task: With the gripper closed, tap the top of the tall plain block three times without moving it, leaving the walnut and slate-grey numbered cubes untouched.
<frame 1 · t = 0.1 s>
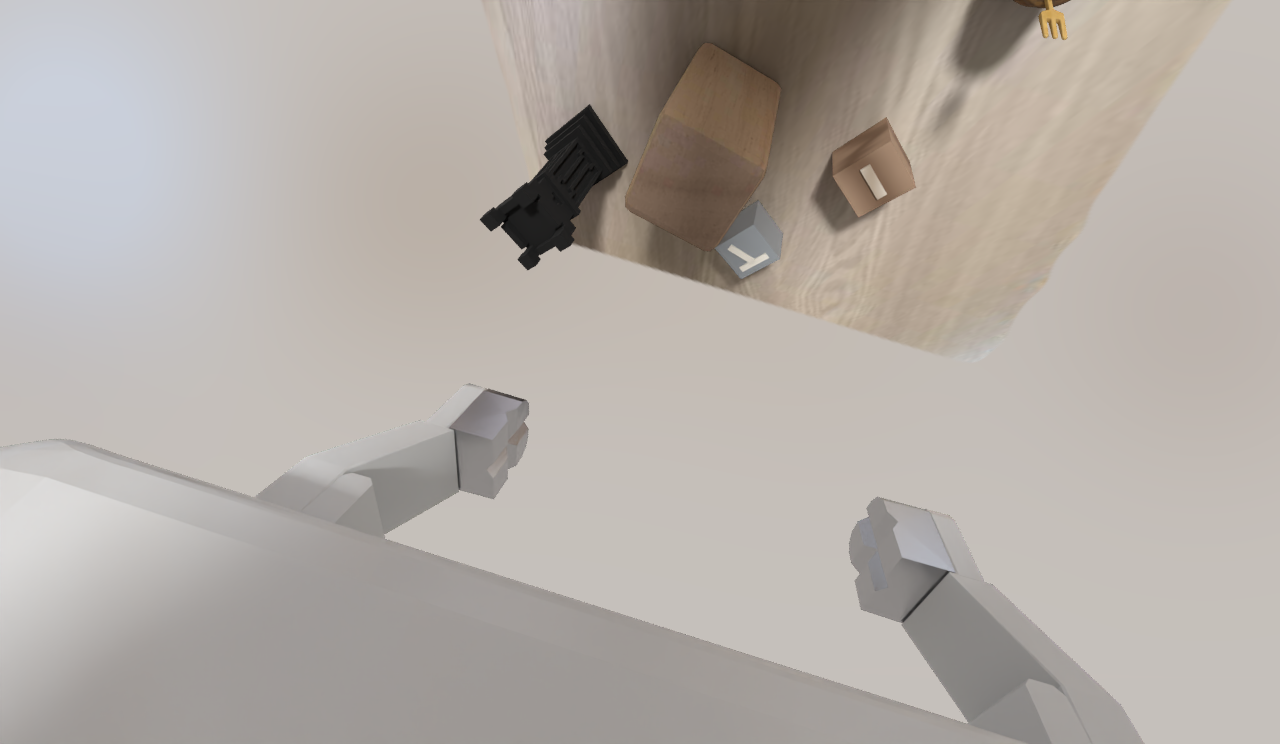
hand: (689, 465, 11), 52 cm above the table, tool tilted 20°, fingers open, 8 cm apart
walnut numbered cube: (870, 156, 52), on the table
slate numbered cube: (751, 228, 62), on the table
block: (722, 105, 52), on the table
chess piece: (587, 149, 60), on the table
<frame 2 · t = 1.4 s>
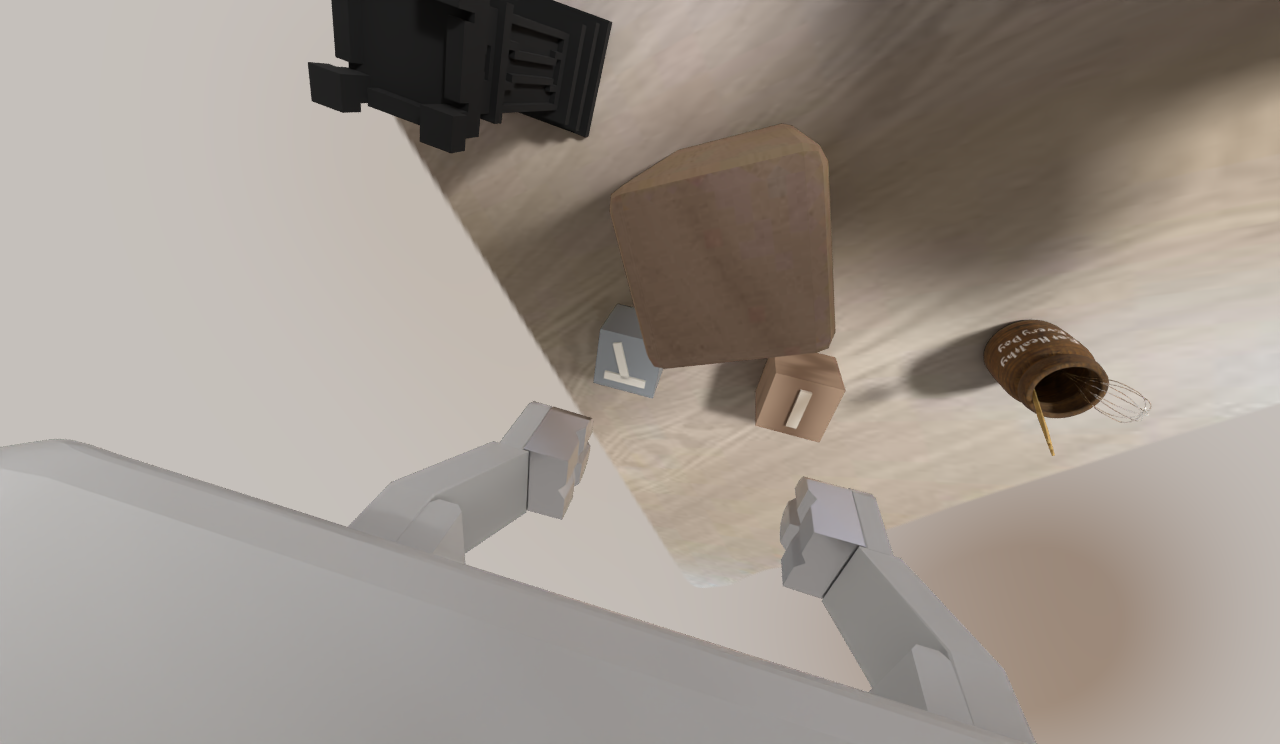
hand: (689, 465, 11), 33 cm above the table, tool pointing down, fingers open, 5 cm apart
utensil holder: (1017, 347, 40), on the table
walnut numbered cube: (793, 374, 45), on the table
slate numbered cube: (641, 336, 47), on the table
block: (737, 200, 38), on the table
chess piece: (554, 66, 36), on the table
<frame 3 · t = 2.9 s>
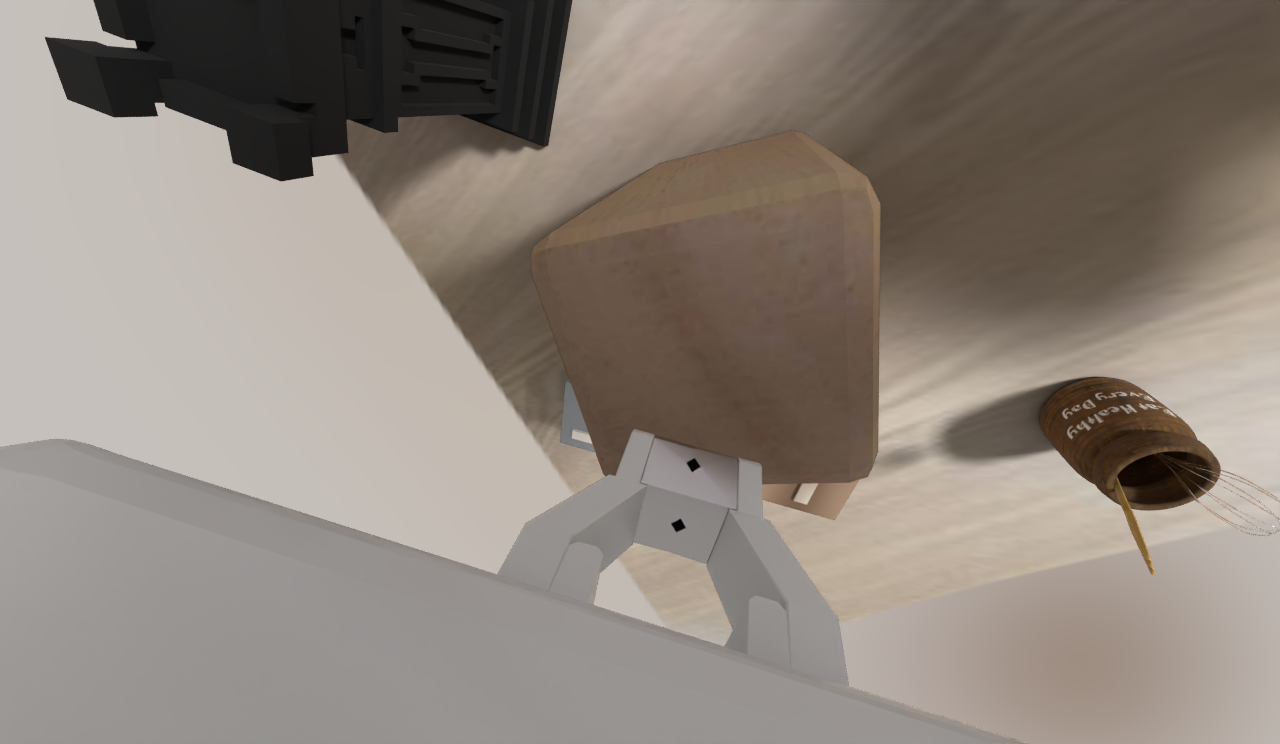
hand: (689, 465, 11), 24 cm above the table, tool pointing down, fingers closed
utensil holder: (1082, 408, 32), on the table
walnut numbered cube: (802, 431, 38), on the table
slate numbered cube: (619, 382, 39), on the table
block: (734, 225, 31), on the table
chess piece: (502, 56, 29), on the table
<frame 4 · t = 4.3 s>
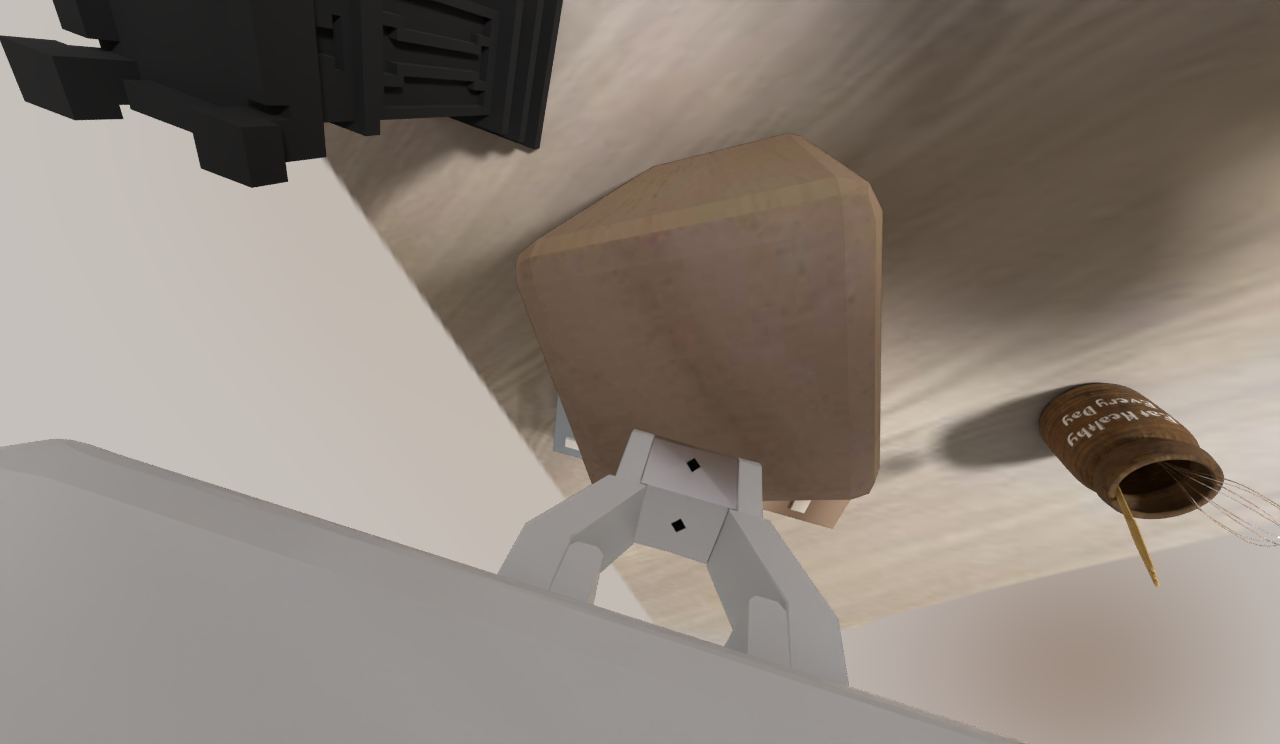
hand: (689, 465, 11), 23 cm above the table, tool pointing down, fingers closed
utensil holder: (1082, 414, 31), on the table
walnut numbered cube: (799, 437, 37), on the table
slate numbered cube: (614, 388, 39), on the table
block: (729, 229, 30), on the table
chess piece: (491, 57, 28), on the table
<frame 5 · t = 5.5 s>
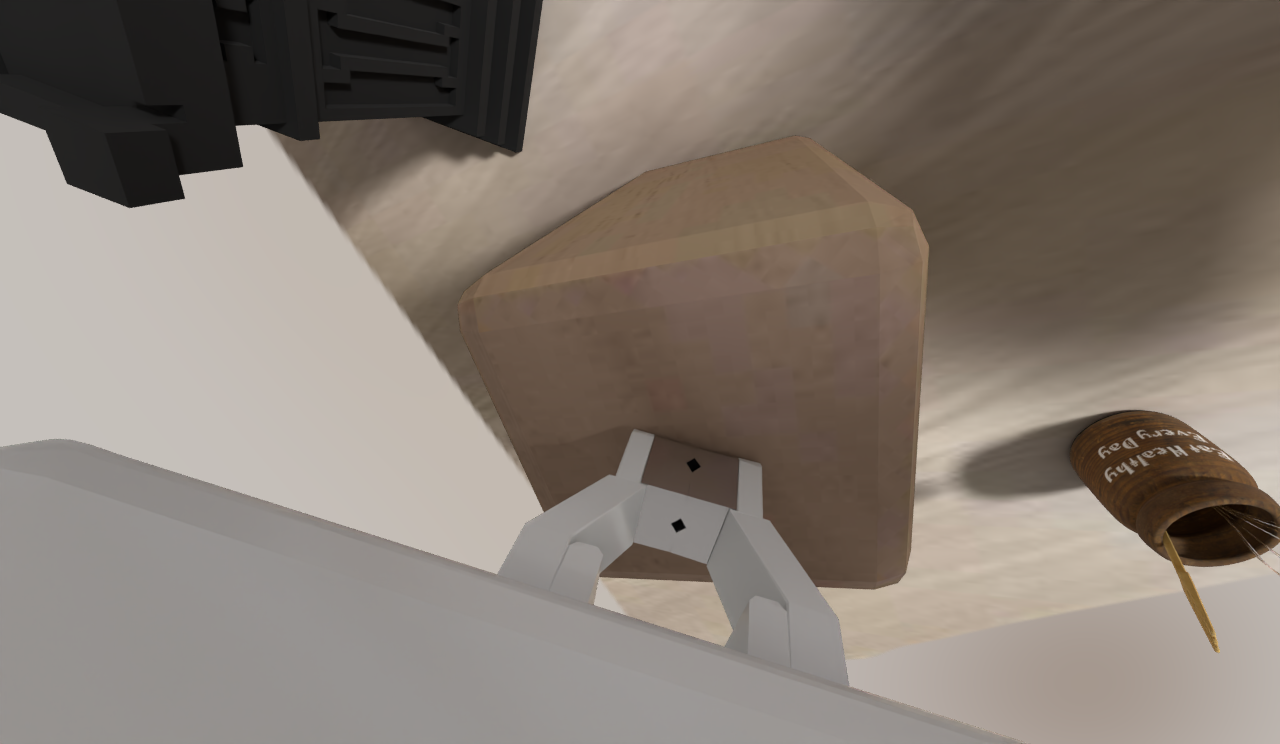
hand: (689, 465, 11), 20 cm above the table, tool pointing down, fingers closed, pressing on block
utensil holder: (1118, 444, 29), on the table
block: (730, 240, 27), on the table, touching gripper
chess piece: (468, 51, 25), on the table
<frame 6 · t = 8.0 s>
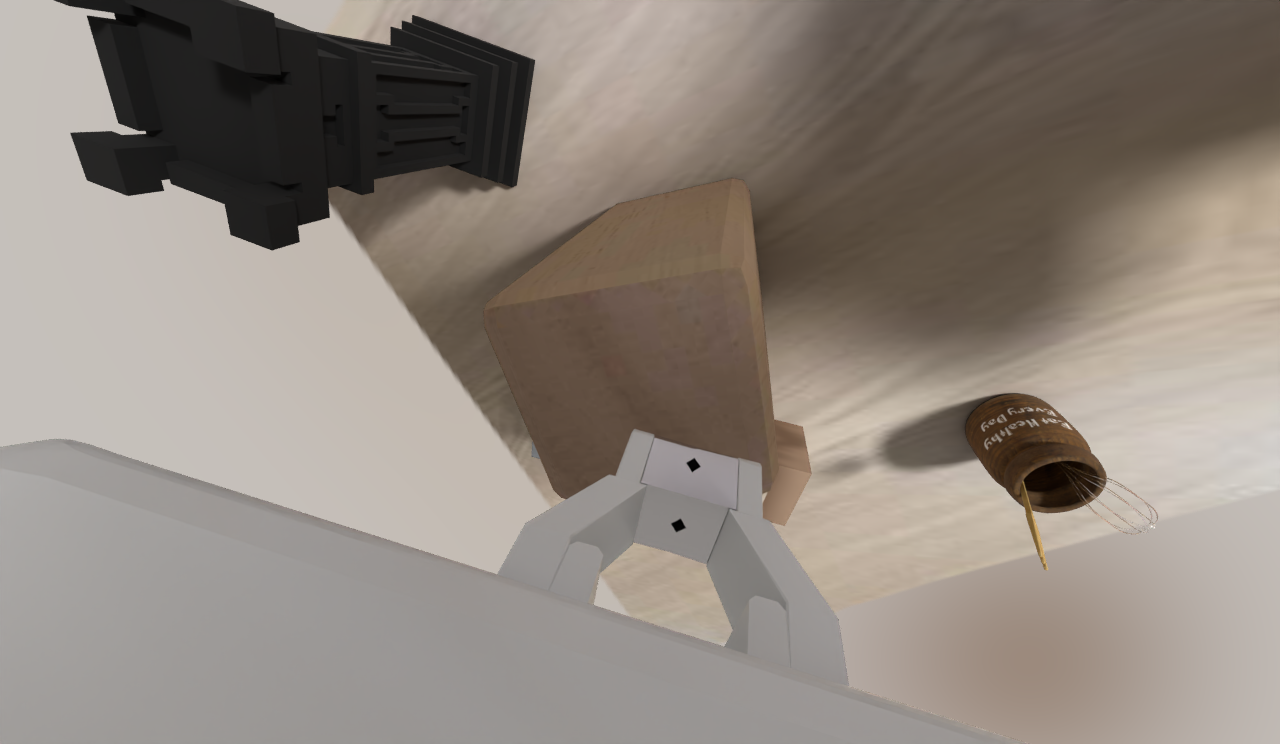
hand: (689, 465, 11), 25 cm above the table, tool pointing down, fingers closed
utensil holder: (1002, 421, 35), on the table
walnut numbered cube: (757, 443, 41), on the table
block: (687, 258, 34), on the table
chess piece: (472, 106, 31), on the table
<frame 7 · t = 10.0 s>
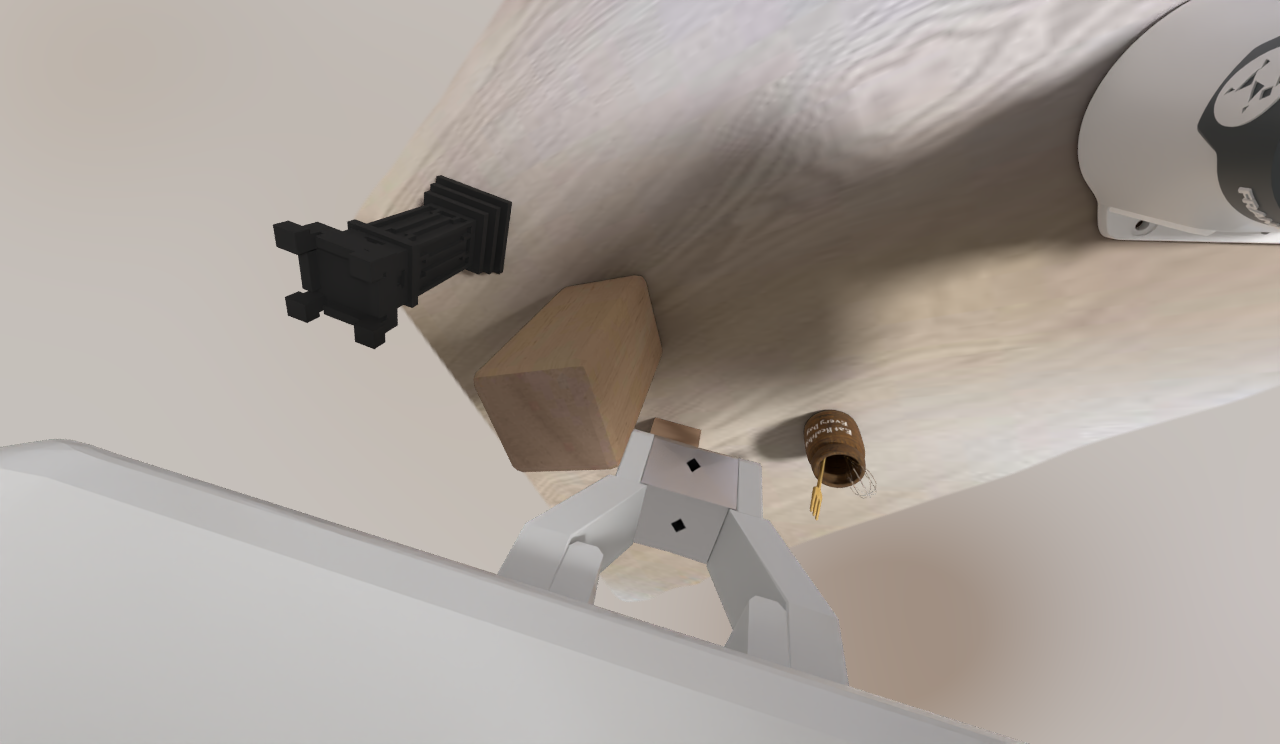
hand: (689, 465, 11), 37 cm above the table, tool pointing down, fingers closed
utensil holder: (828, 428, 52), on the table
walnut numbered cube: (673, 440, 58), on the table
block: (614, 319, 51), on the table
chess piece: (474, 225, 49), on the table
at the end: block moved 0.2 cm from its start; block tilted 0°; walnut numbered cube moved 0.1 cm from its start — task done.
